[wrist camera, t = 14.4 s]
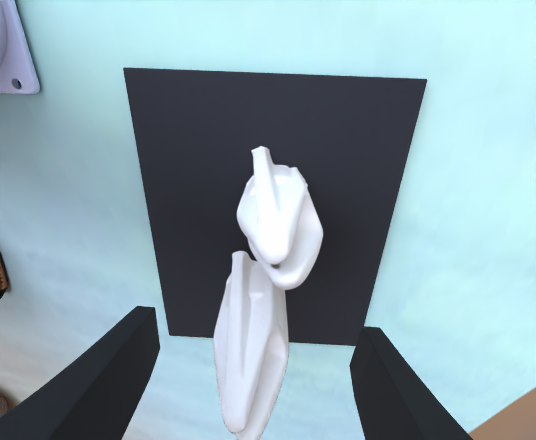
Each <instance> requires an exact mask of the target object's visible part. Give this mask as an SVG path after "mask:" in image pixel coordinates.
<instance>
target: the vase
mask: <svg viewBox="0 0 536 440" xmlns="http://www.w3.org/2000/svg"><path fill="white" fill-rule="evenodd" d="M7 412H8V405H7V401H6V399H5V398H4V397H3V396H2V395H1V394H0V417H2V416H3V415H5V414H6V413H7Z"/></svg>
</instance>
